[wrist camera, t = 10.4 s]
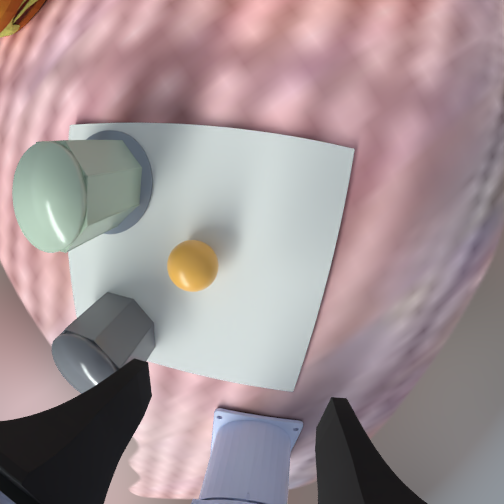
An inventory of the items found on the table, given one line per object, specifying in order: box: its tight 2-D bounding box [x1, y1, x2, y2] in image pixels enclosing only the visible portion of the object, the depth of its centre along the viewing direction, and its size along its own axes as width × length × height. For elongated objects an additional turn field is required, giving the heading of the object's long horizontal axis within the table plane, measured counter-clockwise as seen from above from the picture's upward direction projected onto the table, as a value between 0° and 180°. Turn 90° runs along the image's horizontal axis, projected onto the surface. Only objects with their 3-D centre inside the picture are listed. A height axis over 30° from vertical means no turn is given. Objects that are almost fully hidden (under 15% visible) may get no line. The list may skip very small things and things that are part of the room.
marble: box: [167, 240, 219, 292], centre depth 17 cm, size 3×3×3 cm
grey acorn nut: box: [52, 292, 155, 393], centre depth 18 cm, size 6×6×6 cm
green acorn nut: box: [12, 140, 142, 253], centre depth 14 cm, size 6×6×6 cm
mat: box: [68, 123, 355, 392], centre depth 19 cm, size 18×19×1 cm
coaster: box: [86, 130, 153, 234], centre depth 17 cm, size 7×7×1 cm
